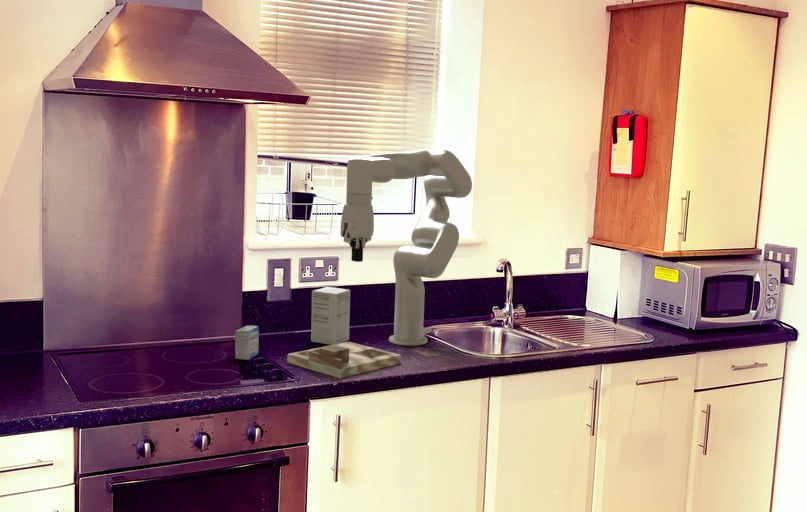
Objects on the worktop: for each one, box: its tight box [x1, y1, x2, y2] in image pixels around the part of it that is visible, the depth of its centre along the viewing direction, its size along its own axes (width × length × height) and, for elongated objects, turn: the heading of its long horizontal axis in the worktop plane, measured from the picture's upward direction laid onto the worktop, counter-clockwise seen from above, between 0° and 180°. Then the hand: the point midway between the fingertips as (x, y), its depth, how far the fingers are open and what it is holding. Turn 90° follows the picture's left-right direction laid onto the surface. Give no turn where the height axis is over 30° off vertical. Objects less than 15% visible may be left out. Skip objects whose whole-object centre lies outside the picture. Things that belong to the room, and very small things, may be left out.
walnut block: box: [318, 345, 349, 364], centre depth 250 cm, size 6×6×4 cm
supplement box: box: [310, 286, 351, 346], centre depth 285 cm, size 10×9×17 cm
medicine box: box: [234, 325, 260, 361], centre depth 262 cm, size 8×4×9 cm, turn 168°
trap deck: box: [286, 341, 402, 379], centre depth 259 cm, size 25×22×5 cm
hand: (357, 261), depth 264 cm, fingers closed
